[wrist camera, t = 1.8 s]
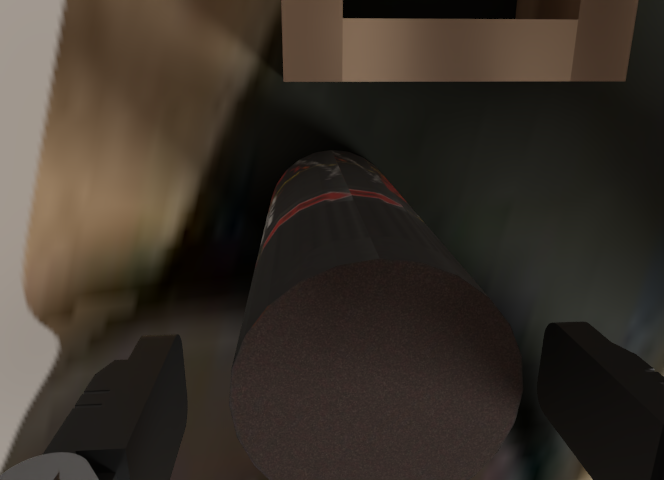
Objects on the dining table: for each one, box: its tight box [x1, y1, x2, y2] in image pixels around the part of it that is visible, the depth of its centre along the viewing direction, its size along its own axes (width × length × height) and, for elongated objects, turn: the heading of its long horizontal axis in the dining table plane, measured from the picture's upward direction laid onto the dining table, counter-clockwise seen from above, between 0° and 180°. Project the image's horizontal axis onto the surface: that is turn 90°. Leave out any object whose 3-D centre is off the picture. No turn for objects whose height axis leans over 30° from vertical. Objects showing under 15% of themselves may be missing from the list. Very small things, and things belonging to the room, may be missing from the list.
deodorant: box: [229, 150, 523, 480], centre depth 18 cm, size 6×6×15 cm
